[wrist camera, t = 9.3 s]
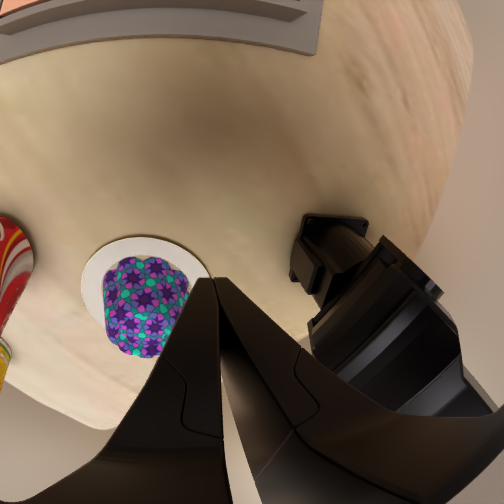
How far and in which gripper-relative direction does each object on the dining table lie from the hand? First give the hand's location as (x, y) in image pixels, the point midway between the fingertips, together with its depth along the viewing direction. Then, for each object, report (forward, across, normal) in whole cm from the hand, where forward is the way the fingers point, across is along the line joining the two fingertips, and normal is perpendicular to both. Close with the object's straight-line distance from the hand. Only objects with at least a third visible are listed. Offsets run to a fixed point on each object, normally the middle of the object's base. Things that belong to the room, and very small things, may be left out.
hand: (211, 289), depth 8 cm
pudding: (+14, +4, +11) cm, 18 cm away
